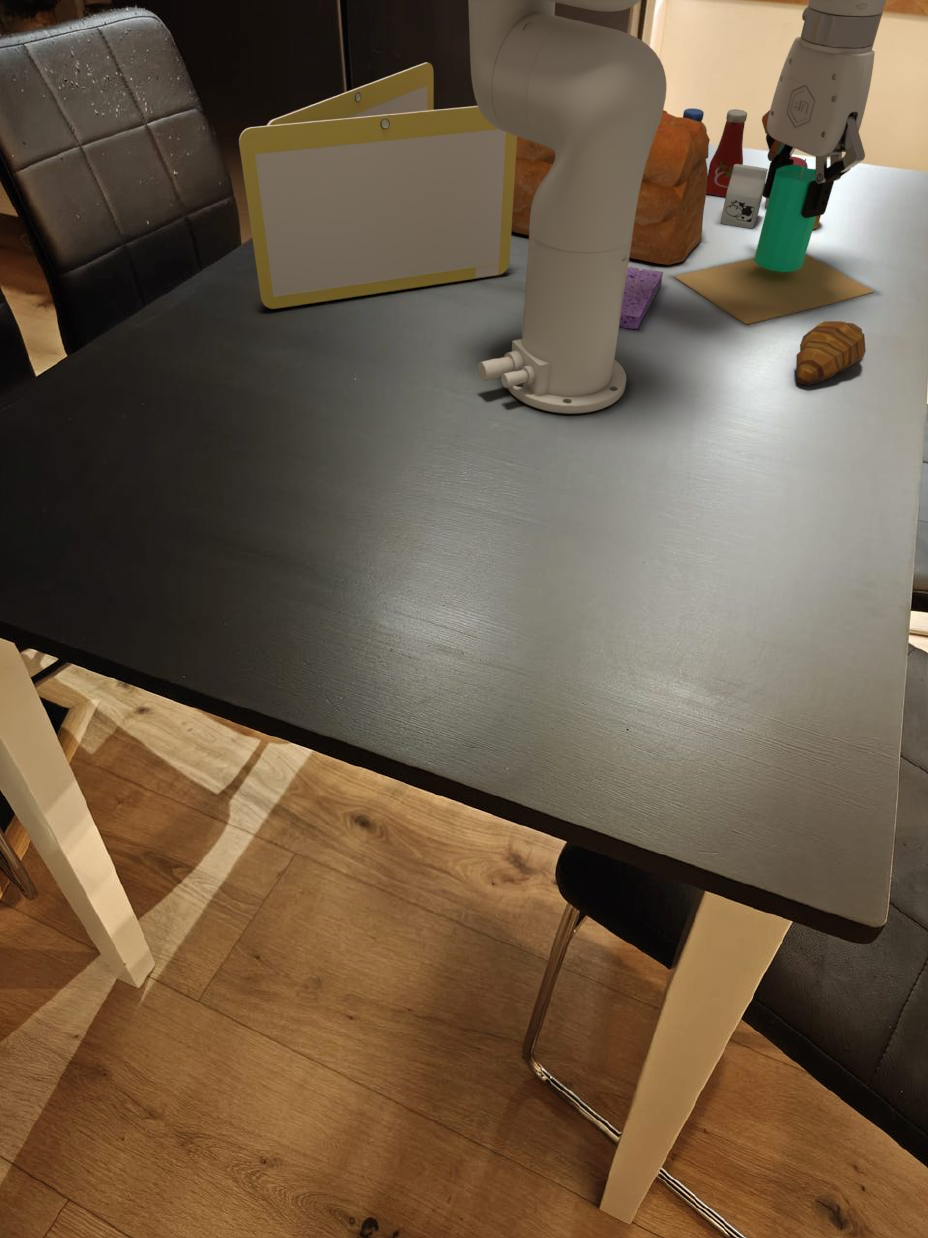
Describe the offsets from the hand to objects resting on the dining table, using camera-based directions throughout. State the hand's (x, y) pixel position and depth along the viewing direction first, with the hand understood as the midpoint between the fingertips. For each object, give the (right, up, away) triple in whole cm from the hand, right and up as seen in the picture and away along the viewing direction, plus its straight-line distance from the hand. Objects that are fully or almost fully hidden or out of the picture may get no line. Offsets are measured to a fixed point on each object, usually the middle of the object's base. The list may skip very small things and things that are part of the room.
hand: (793, 204), depth 108 cm
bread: (-21, +3, +15) cm, 26 cm away
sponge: (-21, -12, 0) cm, 24 cm away
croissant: (0, -22, -10) cm, 24 cm away
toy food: (-2, +10, +22) cm, 25 cm away
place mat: (-1, -8, +4) cm, 9 cm away
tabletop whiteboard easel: (-47, -7, +4) cm, 47 cm away
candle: (0, -5, +5) cm, 7 cm away
